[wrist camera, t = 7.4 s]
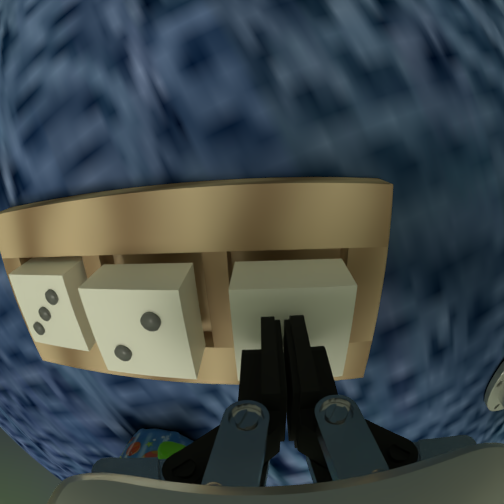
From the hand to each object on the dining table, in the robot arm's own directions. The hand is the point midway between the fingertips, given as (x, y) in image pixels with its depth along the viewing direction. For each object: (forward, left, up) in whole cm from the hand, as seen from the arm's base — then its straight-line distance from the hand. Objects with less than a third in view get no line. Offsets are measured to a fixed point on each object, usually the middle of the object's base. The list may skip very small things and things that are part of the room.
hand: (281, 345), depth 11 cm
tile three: (+14, 0, -5) cm, 14 cm away
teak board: (+6, 0, -6) cm, 9 cm away
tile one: (0, 0, -3) cm, 3 cm away
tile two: (+6, 0, -3) cm, 7 cm away
